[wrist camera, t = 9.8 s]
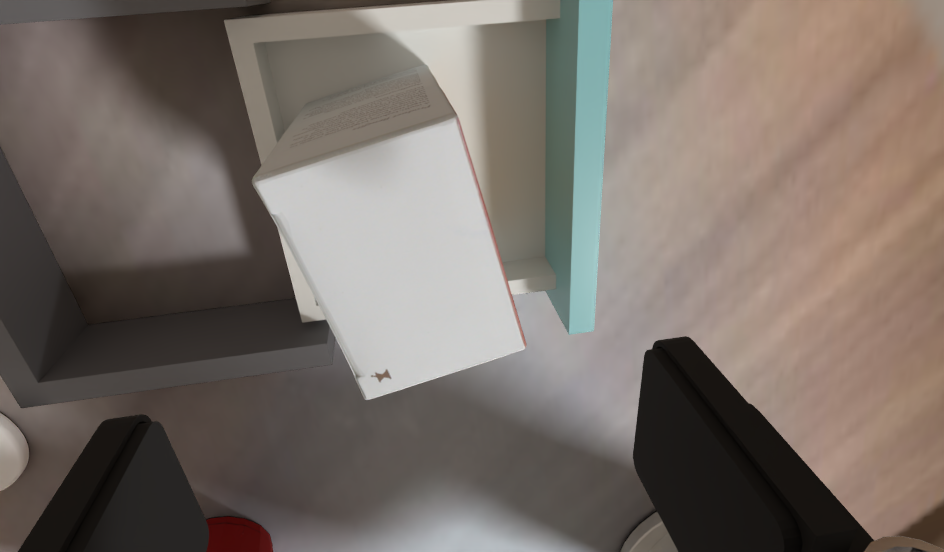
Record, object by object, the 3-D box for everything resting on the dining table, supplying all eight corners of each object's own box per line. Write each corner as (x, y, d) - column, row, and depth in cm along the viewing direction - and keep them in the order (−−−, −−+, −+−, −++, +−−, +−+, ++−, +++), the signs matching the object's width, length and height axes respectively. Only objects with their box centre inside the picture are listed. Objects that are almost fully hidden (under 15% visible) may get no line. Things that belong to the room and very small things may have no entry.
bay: (263, -32, 21) (236, -36, 17) (338, 312, 29) (332, 364, 25) (-113, -7, 20) (-236, -5, 16) (72, 347, 27) (21, 408, 23)
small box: (479, 226, 26) (532, 355, 17) (371, 261, 26) (365, 409, 17) (428, 58, 22) (462, 109, 13) (301, 100, 22) (246, 180, 13)
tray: (569, -42, 22) (615, -48, 18) (562, 280, 29) (594, 331, 25) (233, -19, 21) (194, -20, 16) (314, 312, 28) (301, 372, 24)
